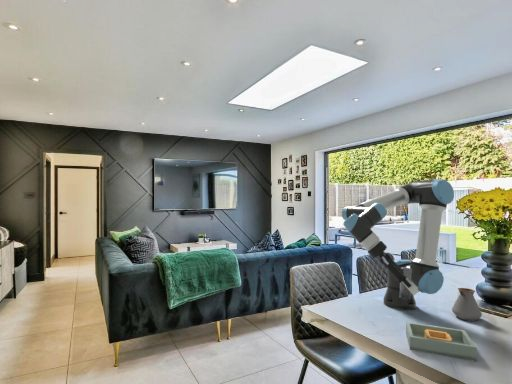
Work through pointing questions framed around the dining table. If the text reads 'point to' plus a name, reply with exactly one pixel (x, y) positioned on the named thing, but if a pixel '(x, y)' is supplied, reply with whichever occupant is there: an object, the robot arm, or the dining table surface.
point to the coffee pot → (466, 305)
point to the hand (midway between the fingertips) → (415, 291)
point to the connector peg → (403, 290)
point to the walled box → (440, 341)
